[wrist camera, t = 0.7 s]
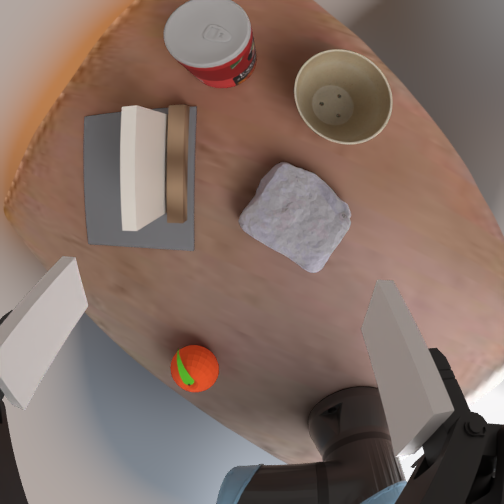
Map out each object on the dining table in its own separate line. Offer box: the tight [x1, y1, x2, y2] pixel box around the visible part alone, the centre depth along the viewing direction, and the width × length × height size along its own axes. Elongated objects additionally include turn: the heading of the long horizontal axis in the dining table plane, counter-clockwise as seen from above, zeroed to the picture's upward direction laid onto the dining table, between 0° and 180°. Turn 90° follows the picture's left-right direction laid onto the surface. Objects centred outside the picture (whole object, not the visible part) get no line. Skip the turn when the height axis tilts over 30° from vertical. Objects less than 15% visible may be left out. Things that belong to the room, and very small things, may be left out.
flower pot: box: [294, 49, 392, 144], centre depth 30 cm, size 10×10×7 cm
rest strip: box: [167, 105, 190, 223], centre depth 35 cm, size 14×2×2 cm, turn 177°
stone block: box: [239, 162, 351, 273], centre depth 36 cm, size 12×5×10 cm
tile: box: [120, 105, 168, 231], centre depth 31 cm, size 12×2×10 cm, turn 177°
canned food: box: [164, 0, 257, 88], centre depth 27 cm, size 8×8×11 cm
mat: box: [84, 107, 197, 251], centre depth 37 cm, size 18×16×1 cm
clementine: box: [170, 345, 219, 392], centre depth 41 cm, size 8×7×7 cm
